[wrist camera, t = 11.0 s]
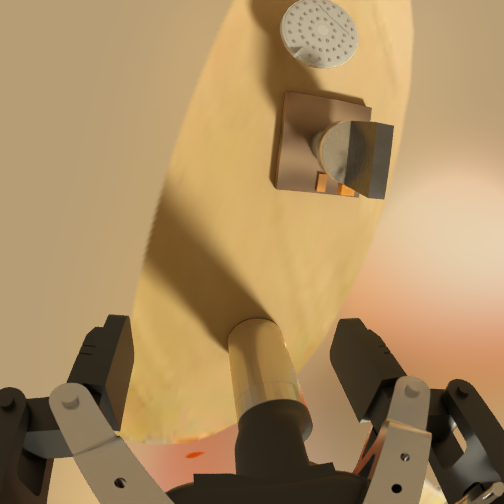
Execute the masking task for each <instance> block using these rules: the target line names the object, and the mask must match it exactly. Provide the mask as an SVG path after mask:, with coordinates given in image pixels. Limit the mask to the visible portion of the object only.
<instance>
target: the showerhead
mask: <svg viewBox="0 0 504 504" xmlns="http://www.w3.org/2000/svg"><path fill="white" fill-rule="evenodd" d="M280 35H281V39H282V42H283V44H284V46H285V47H286V49H287V50H288V52H289V53H290V54H291V55H292V56H293V57H294V58H295V59H297V60H298V61H300V62H301V63H303V64H305V65H308V66H310V67H314V68H320V69H325V68H332V67H336V66H339V65H342V64H344V63H346V62H347V61H348V60H349V59H350V58H351V57H352V56H353V55H354V53H355V51H356V49H357V46H358V31H357V28H356V25H355V23H354V21H353V19H352V18H351V16H350V15H349V14H348V13H347V12H346V11H345V10H344V9H343V8H342V7H340V6H339V5H337V4H336V3H334V2H332V1H329V0H299V1H297V2H295V3H294V4H292V5H291V6H290V7H289V8H288V9H287V11H286V12H285V14H284V15H283V17H282V20H281V23H280Z"/></svg>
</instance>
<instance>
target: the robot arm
mask: <svg viewBox="0 0 504 504" xmlns="http://www.w3.org/2000/svg"><path fill="white" fill-rule="evenodd" d="M228 351H229V360H230V368H231V376H232V384H233V392H234V400H235V407H236V414H237V421H238V429H239V433H238V437H237V440H236V444H235V463H236V475H235V474H193V475H194V482H192V483H187V484H184V485H181V486H177V487H175V488H173V489H171V490H169V491H167V492H164V491H163V490H162V489H161V488H160V487H159V486H158V484H157V483H156V482H155V481H154V479H153V478H152V477H151V476H150V475H149V473H148V472H147V471H146V470H145V468H144V467H143V466H142V465H141V463H140V462H139V461H138V459H137V458H136V457H135V455H134V454H133V453H132V451H131V450H130V448H129V447H128V446H127V444H126V443H125V442H124V440H123V439H122V438H121V437H120V436H117V435H116V434H115V432H114V431H120V429H121V423H122V418H123V412H124V407H125V402H126V397H127V392H128V387H129V382H130V377H131V373H132V368H133V363H134V346H133V339H132V332H131V325H130V318H129V316H124V315H108V317H107V320H106V322H105V324H104V327H95V328H94V329H93V330H91V331H90V332H89V333H88V334H87V335H86V337H85V340H84V342H83V345H82V347H81V349H80V351H79V354H78V356H77V358H76V361H75V363H74V365H73V368H72V370H71V373H70V376H69V378H68V380H67V383H65V384H62V385H60V386H58V387H57V388H55V389H54V390H53V391H52V393H51V394H50V396H49V397H45V398H33V399H26V398H25V395H24V394H23V393H22V391H20V390H19V389H16V388H12V387H8V388H3V389H1V390H0V504H47V496H48V490H49V483H50V478H51V472H52V467H53V462H54V458H64V457H73V458H74V460H75V462H76V464H77V465H78V467H79V469H80V471H81V473H82V474H83V476H84V478H85V480H86V481H87V483H88V485H89V486H90V488H91V490H92V491H93V493H94V494H95V496H96V497H97V499H98V501H99V502H100V504H419V501H420V497H421V493H422V488H423V484H424V479H425V474H426V469H427V463H428V461H429V463H430V465H431V467H432V469H433V471H434V473H435V476H436V478H437V480H438V482H439V484H440V486H441V489H442V491H443V493H444V495H445V498H446V500H447V502H448V504H504V430H503V428H502V427H501V425H500V424H499V422H498V421H497V419H496V418H495V416H494V415H493V413H492V412H491V411H490V409H489V408H488V406H487V405H486V403H485V402H484V401H483V399H482V398H481V396H480V395H479V394H478V392H477V391H476V389H475V388H474V387H473V386H472V385H471V384H470V383H468V382H467V381H464V380H461V379H455V380H452V381H450V382H449V384H448V386H447V387H446V389H429V387H428V385H427V384H426V383H425V382H424V381H422V380H421V379H419V378H417V377H413V376H407V375H406V373H405V372H404V370H403V369H402V368H401V366H400V365H399V363H398V362H397V360H396V359H395V357H394V356H393V354H391V353H390V350H389V349H388V347H386V345H385V343H384V342H383V340H382V339H381V338H380V336H378V335H377V334H376V333H374V332H373V331H372V330H367V328H366V327H365V325H364V324H363V322H362V321H361V320H360V319H359V318H350V319H340V320H339V322H338V325H337V328H336V332H335V335H334V339H333V342H332V345H331V349H330V361H331V364H332V366H333V368H334V370H335V372H336V374H337V377H338V379H339V381H340V383H341V385H342V387H343V389H344V391H345V393H346V395H347V398H348V400H349V402H350V404H351V406H352V408H353V410H354V412H355V414H356V417H357V419H358V421H359V423H364V422H369V421H371V423H372V427H371V429H370V430H369V433H368V436H367V439H366V442H365V445H364V447H363V450H362V453H361V455H360V458H359V460H358V463H357V465H356V467H355V469H354V471H353V473H349V472H345V471H335V468H334V465H333V463H332V462H331V463H326V464H316V463H313V462H310V461H309V459H308V456H307V453H306V450H305V446H304V441H305V440H306V439H307V438H308V437H309V436H310V434H311V432H312V427H313V424H312V420H311V417H310V414H309V411H308V408H307V405H306V402H305V399H304V396H303V394H302V391H301V388H300V385H299V382H298V379H297V376H296V373H295V370H294V367H293V364H292V362H291V359H290V356H289V353H288V350H287V347H286V344H285V341H284V338H283V336H282V333H281V330H280V328H279V327H278V326H277V325H276V324H275V323H274V322H272V321H270V320H266V319H260V318H256V319H249V320H246V321H243V322H241V323H240V324H238V325H237V326H235V327H234V328H233V329H232V331H231V332H230V334H229V337H228ZM456 427H458V429H459V430H460V432H461V433H462V435H463V437H464V439H465V441H466V444H467V448H466V451H465V453H464V452H463V450H462V449H461V447H460V445H459V443H458V441H457V439H456V438H455V436H454V434H453V431H454V430H455V428H456ZM113 430H114V431H113Z"/></svg>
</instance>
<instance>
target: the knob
mask: <svg viewBox="0 0 504 504" xmlns="http://www.w3.org/2000/svg"><path fill="white" fill-rule="evenodd" d="M393 129H394V126H392V125H387V124H382V123H377V122H364V121H352V120H340V121H336V122H333V123H332V124H330V125H328V126H327V127H326V128H325V129H324V130H323V131H322V133H321V134H320V136H319V138H318V141H317V145H316V157H317V161H318V163H319V166H320V168H321V169H322V170H323V172H324V173H325V174H326V175H327V176H329V177H330V178H332V179H334V180H336V181H337V182H338V188H337V193H338V194H340V195H345V196H354V191H356V192H358V193H360V194H362V195H364V196H365V197H367V198H375V199H384V198H385V191H386V185H387V178H388V171H389V164H390V156H391V148H392V139H393Z"/></svg>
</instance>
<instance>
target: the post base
mask: <svg viewBox="0 0 504 504" xmlns="http://www.w3.org/2000/svg"><path fill="white" fill-rule="evenodd" d="M371 110H372V108H370V107H366V106H362V105H358V104H354V103H349V102H345V101H340V100H335V99H330V98H325V97H320V96H315V95H309V94H303V93H297V92H291V91H286V92H285V96H284V105H283V115H282V124H281V133H280V142H279V150H278V159H277V168H276V176H275V185H274V187H275V188H276V189H279V190H291V191H302V192H312V193H322V194H332V195H340V194H338V193H337V188H338V182H337V181H336V180H334V179H332V178H330V177H329V176H327V175H326V174H325V173H324V172H323V170H322V169H321V168H320V166H319V163H318V161H317V157H316V145H317V141H318V138H319V136H320V134H321V133H322V131H323V130H324V129H325V128H326V127H327V126H328V125H330V124H332V123H333V122H336V121H340V120H352V121H364V122H370V119H371ZM341 196H345V195H341ZM349 197H358V198H359V193H358V192H356V191H354V196H349Z"/></svg>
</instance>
